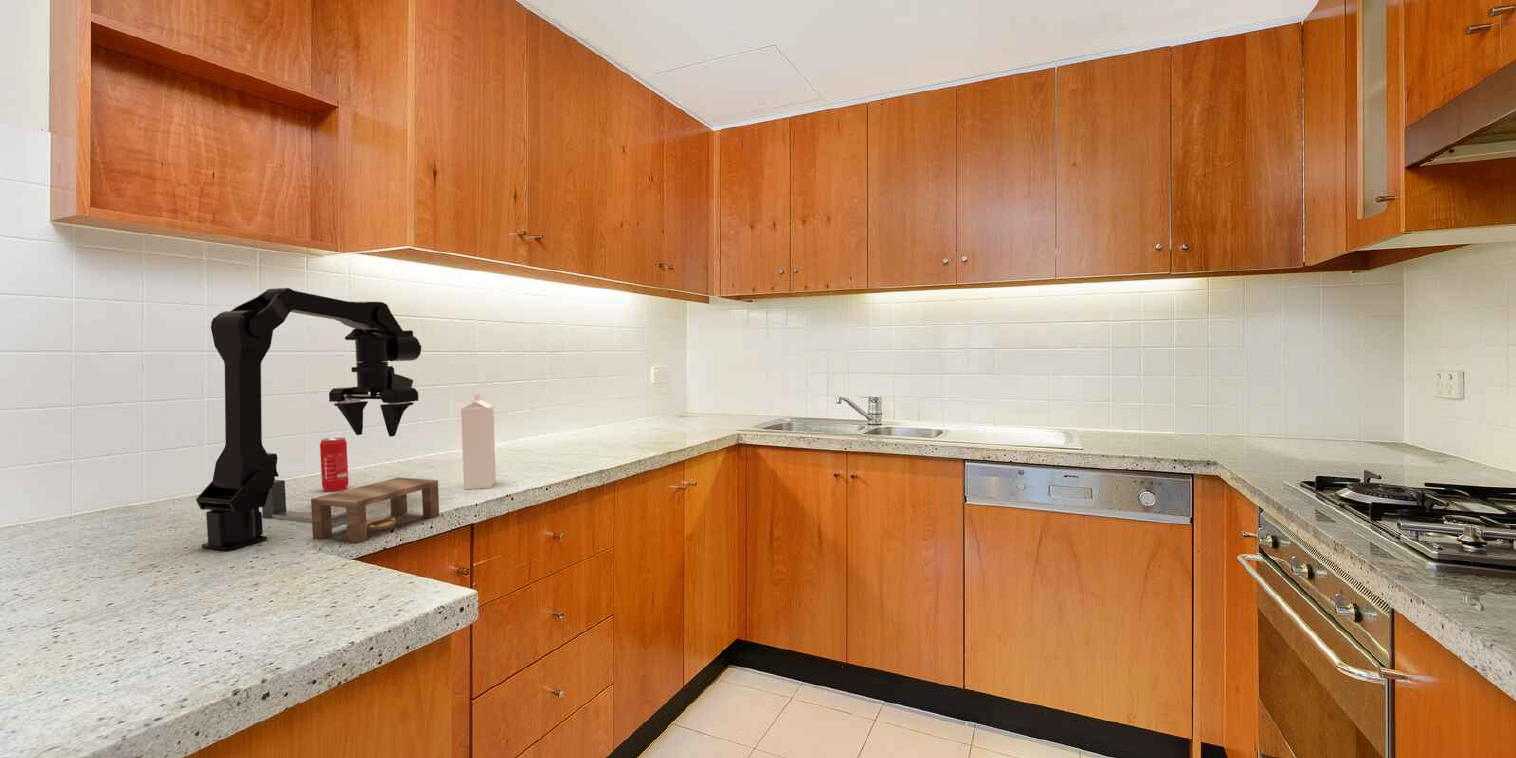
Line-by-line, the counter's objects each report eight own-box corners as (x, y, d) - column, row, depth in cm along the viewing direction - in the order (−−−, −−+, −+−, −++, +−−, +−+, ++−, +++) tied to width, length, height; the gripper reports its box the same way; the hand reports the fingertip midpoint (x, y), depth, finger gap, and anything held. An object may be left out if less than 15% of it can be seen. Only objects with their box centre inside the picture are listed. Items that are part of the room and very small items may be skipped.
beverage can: (327, 493, 144) (324, 441, 144) (318, 490, 148) (316, 439, 147) (352, 488, 149) (350, 438, 148) (343, 486, 152) (341, 436, 151)
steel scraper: (332, 527, 117) (330, 490, 116) (253, 519, 123) (251, 484, 122) (361, 518, 122) (359, 483, 122) (284, 511, 128) (282, 477, 128)
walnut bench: (356, 543, 107) (354, 502, 107) (312, 538, 110) (310, 498, 110) (439, 515, 124) (437, 480, 124) (399, 511, 127) (398, 477, 127)
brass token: (378, 532, 114) (378, 524, 114) (357, 530, 115) (357, 522, 115) (401, 524, 119) (401, 517, 119) (381, 523, 120) (380, 515, 120)
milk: (496, 483, 154) (493, 392, 152) (491, 488, 148) (488, 394, 147) (469, 484, 152) (466, 393, 151) (463, 489, 146) (460, 395, 145)
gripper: (437, 360, 137) (440, 431, 138) (372, 361, 143) (375, 429, 144) (393, 362, 127) (397, 439, 127) (325, 362, 132) (329, 436, 133)
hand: (375, 435), depth 133 cm, fingers open, 9 cm apart
